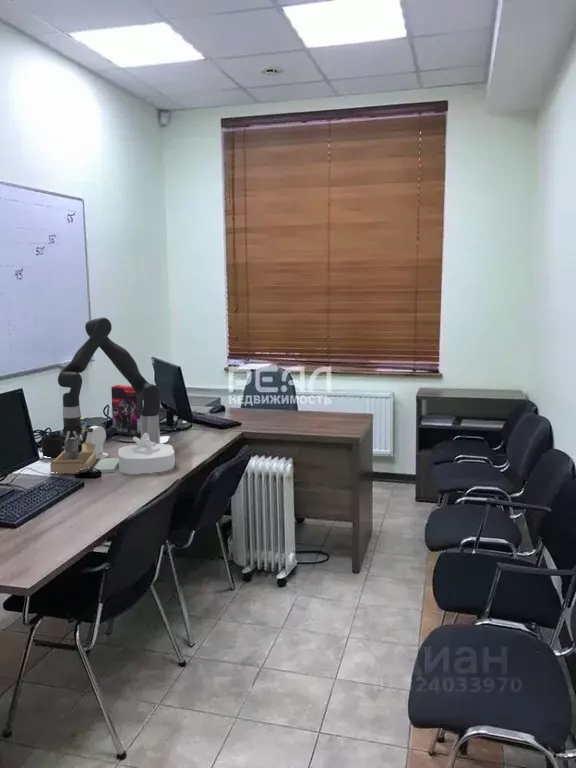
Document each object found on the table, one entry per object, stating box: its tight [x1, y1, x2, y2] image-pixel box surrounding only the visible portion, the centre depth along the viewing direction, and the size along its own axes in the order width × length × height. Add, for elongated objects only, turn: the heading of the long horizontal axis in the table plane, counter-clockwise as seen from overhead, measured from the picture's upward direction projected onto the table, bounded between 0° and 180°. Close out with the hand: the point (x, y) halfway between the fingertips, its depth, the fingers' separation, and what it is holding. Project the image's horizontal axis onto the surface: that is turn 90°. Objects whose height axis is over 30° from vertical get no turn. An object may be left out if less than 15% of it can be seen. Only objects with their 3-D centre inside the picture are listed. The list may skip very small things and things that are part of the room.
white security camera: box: [85, 423, 109, 460], centre depth 307 cm, size 12×11×15 cm
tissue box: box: [117, 433, 176, 475], centre depth 291 cm, size 25×25×16 cm
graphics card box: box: [110, 384, 143, 437], centre depth 350 cm, size 17×7×27 cm, turn 68°
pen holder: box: [40, 433, 63, 459], centre depth 306 cm, size 9×9×10 cm
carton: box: [48, 444, 97, 474], centre depth 288 cm, size 16×28×7 cm, turn 5°
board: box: [94, 457, 119, 474], centre depth 290 cm, size 9×18×2 cm, turn 5°
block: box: [64, 435, 83, 460], centre depth 288 cm, size 4×13×8 cm, turn 5°
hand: (73, 452), depth 287 cm, fingers closed on block, 4 cm apart
